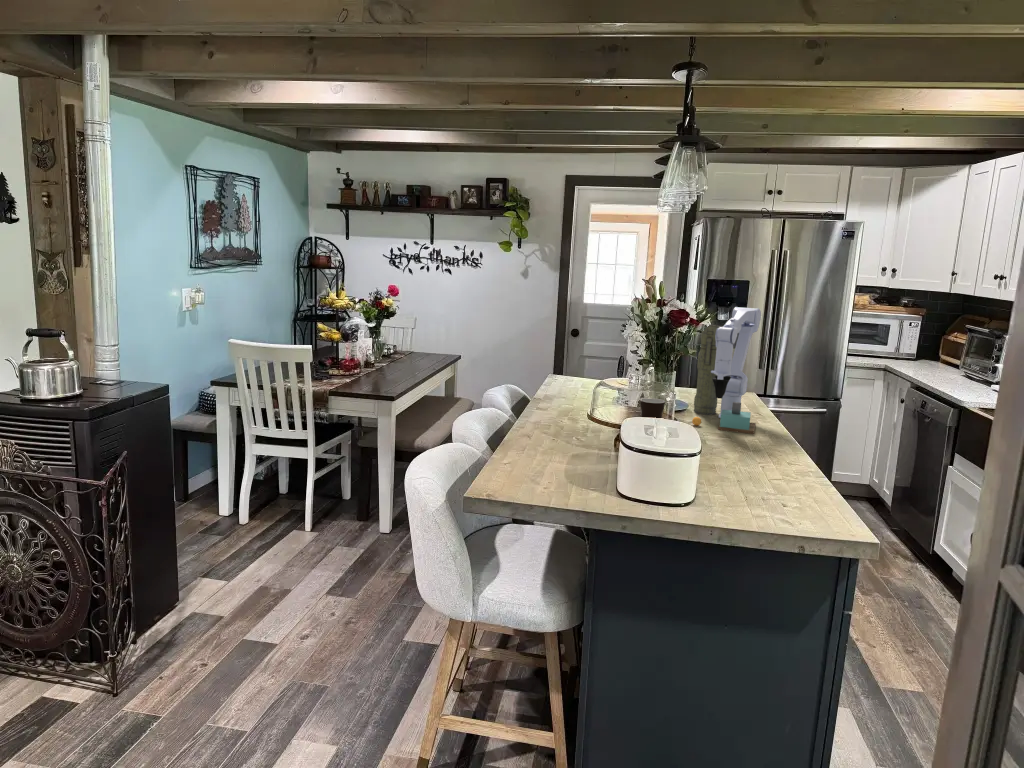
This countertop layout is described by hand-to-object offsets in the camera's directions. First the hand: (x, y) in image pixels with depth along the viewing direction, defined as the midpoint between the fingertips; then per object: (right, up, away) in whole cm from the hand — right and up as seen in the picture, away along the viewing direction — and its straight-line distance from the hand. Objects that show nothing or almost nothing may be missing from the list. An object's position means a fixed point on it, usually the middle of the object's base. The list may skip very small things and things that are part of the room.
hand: (720, 396), depth 252 cm
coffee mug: (-26, -11, -7) cm, 29 cm away
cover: (+4, -10, -4) cm, 12 cm away
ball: (-9, -11, -2) cm, 14 cm away
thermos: (+1, -7, +22) cm, 23 cm away
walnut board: (+5, -11, -3) cm, 13 cm away
